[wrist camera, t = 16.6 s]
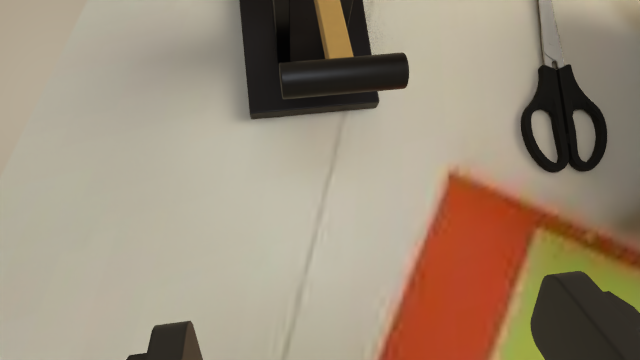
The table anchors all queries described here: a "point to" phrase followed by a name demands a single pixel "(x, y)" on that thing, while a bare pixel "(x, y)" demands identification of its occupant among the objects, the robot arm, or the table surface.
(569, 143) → the scissors
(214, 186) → the table surface
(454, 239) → the table surface
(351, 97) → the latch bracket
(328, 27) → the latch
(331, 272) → the table surface
